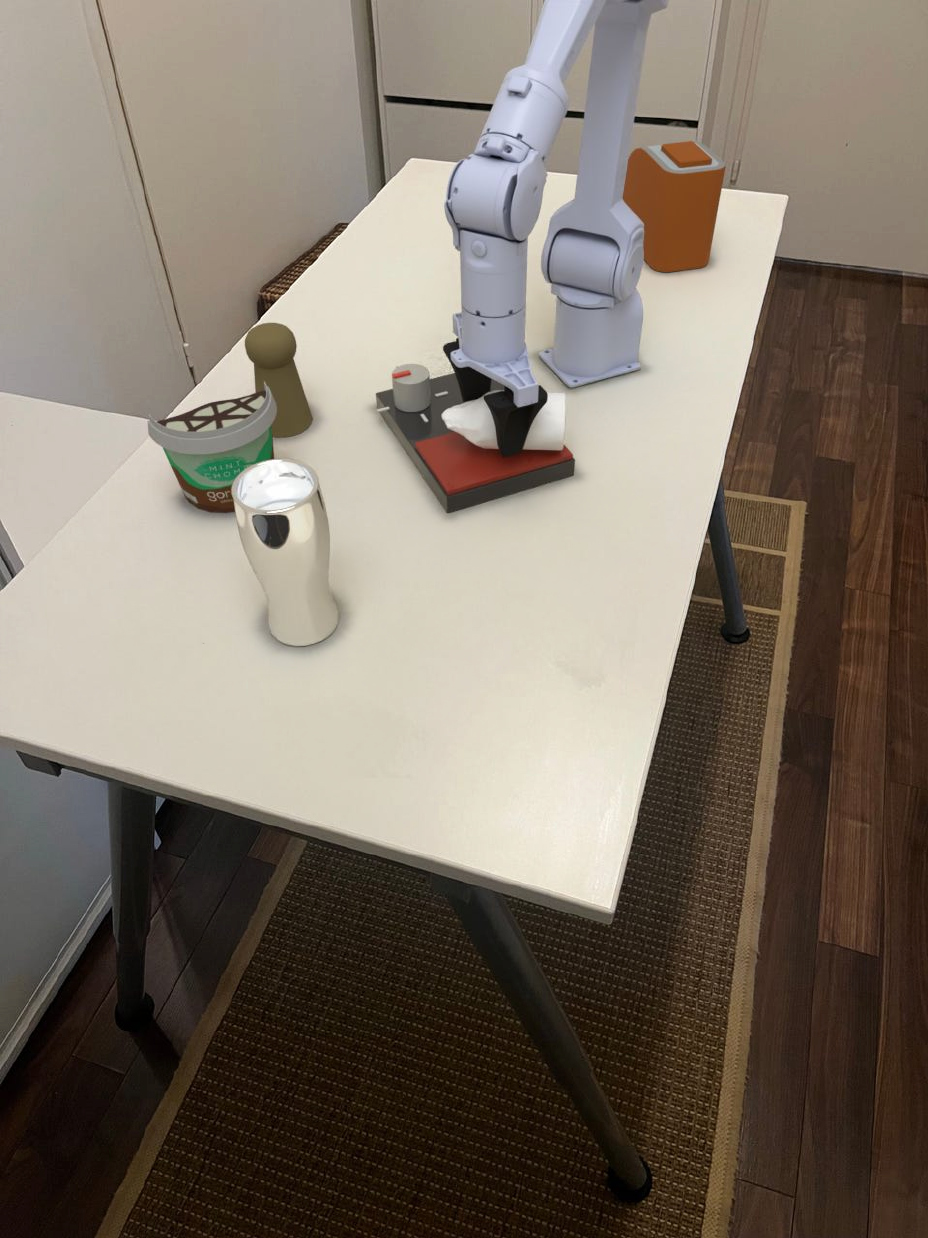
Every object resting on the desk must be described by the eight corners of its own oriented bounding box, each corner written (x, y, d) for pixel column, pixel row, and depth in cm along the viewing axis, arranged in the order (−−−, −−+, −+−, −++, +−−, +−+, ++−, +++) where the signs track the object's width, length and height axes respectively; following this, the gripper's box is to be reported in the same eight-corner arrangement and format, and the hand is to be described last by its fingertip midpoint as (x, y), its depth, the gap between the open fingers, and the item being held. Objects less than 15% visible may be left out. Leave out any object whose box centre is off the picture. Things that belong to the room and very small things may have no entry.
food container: (186, 536, 89) (159, 450, 81) (169, 500, 92) (142, 415, 85) (307, 496, 92) (291, 411, 85) (286, 463, 96) (269, 379, 89)
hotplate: (534, 414, 98) (534, 409, 98) (572, 459, 92) (573, 454, 92) (414, 447, 94) (414, 442, 94) (447, 495, 89) (447, 490, 88)
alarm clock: (715, 266, 124) (734, 160, 115) (655, 274, 123) (670, 168, 113) (673, 221, 134) (687, 120, 125) (617, 227, 133) (627, 126, 123)
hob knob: (422, 388, 102) (420, 357, 99) (436, 406, 99) (435, 375, 96) (388, 397, 101) (385, 366, 98) (401, 416, 98) (399, 384, 95)
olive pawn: (302, 440, 99) (286, 347, 91) (249, 434, 100) (228, 342, 92) (319, 408, 103) (305, 317, 95) (268, 403, 104) (250, 312, 96)
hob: (488, 375, 107) (488, 359, 105) (574, 475, 94) (575, 458, 92) (365, 407, 103) (363, 391, 101) (437, 516, 90) (436, 499, 88)
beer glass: (310, 662, 77) (280, 525, 66) (247, 631, 80) (208, 494, 69) (360, 610, 81) (339, 474, 70) (298, 582, 84) (269, 446, 73)
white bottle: (445, 424, 95) (443, 377, 91) (562, 426, 94) (565, 378, 90) (440, 460, 91) (437, 412, 87) (562, 462, 90) (565, 414, 86)
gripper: (420, 276, 85) (427, 403, 95) (486, 351, 76) (487, 482, 86) (490, 261, 87) (490, 386, 97) (562, 332, 78) (554, 463, 88)
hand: (493, 430), depth 91 cm, fingers closed on white bottle, 7 cm apart
